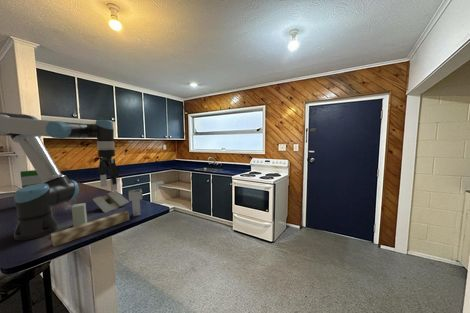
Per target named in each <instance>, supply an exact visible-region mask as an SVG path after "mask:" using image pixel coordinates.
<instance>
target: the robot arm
mask: <svg viewBox="0 0 470 313" xmlns="http://www.w3.org/2000/svg"><path fill="white" fill-rule="evenodd" d="M114 130H115V127H114V123H113V121H112V120H110V119H96V121H95V123H84V122H83V123H81V122H69V121H68V122H67V121H59V120H49V119H48V120H47V119H39V118H37V117H35V116H33V115H28V114H24V113H20V114H19V113H9V112H1V111H0V136H4V137H5V136H7V137H10V138H11V140H12V141H13V143H17V144H19V146H20V147H21V149H22V151H23V152H24V154H25V156H26V157H27V159H28V160H29V162H30V164H31V166H32V167H33V170H36V172H37V174H38V175H39V177H40V179H41V180H42V183H41V184H35V185H30V186H26V187H23V188H22V187H20V188H18V190H16V191H15V193H14V202H15V210H16V216H17V223H16V227H15V230H14V233H13V238H14V240H15V241H29V240H34V239H38V238H42V237H44V236H47V235H49V234H50V235H51V234H52V233H55V231H58V229H59V224H58V221H57V220H56V219H55V217H54V216H53V213H52V212H53V211H52V208H53V207H56V206H58V205H61V204H64V203H68V202H69V201H72V200H73V199H75V198H76V197H77V196H78V194H79V191H80V187H79V186H80V185H79V184H78V182H77V181H76V180H73V179H69V178H68V176H67V175H65V174H63V173H62V172H61V171H60V169H59V168H58V166H57V164H56V162H55V161H54V159H53V157H52V156H51V154H50V152H49V151H48V149H47V148H46V145H45V144H44V142H43V140H42V139H41V137H49V138H53V139H96V143H97V144H96V146H97V147H96V148H97V156H98V158H99V164H98V171H97V173H98V174H99V179H100V187H101V188H102V187H103V188H104V187H107V186H108V183H107V181H108V180H107V171H108V173H109V176H110V177H109V179H110V180H109V181H110V191H111V192H113V191H115V190H116V191H118V179H117V178H119V176H120V175H119V171H118V168H117V165H116V158H112V157H115V156H116V151H115V145H116V143H115V139H114V138H115V137H114V135H115V131H114Z"/></svg>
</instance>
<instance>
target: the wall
mask: <svg viewBox="0 0 470 313" xmlns="http://www.w3.org/2000/svg"><path fill="white" fill-rule="evenodd" d="M92 200H93V202H94V203H95V204H96V205H97V206H98V208H99V209H100V210H101V211H102V212H103V213H104V214H106V213H109V212H111V211H114V210H117V209H119V208H120V207H121V206H124V205H126V204H128V203H130V201H129V199H127V198H125V197H124V195H122V194H121V193H120V192H119V191H118V190H114V191H111V192H108V193H106V195H103V196H101V195H100V196H96V197H94V198H92Z"/></svg>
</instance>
